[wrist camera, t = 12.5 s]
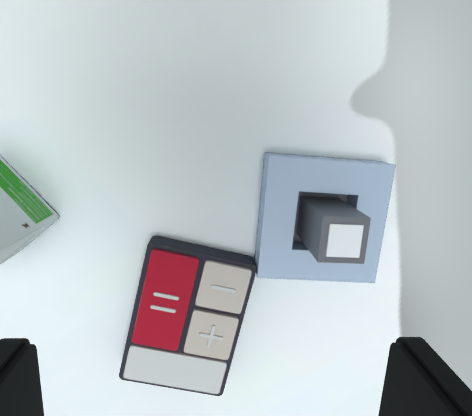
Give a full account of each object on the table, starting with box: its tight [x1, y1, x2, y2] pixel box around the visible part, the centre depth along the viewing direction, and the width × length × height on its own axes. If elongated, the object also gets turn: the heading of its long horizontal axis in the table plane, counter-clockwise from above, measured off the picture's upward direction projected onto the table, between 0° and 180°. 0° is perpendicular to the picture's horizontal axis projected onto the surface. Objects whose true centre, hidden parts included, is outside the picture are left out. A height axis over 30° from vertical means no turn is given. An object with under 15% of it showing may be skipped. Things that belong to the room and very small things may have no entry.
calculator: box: [119, 236, 257, 396], centre depth 39 cm, size 11×4×15 cm
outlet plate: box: [255, 153, 396, 283], centre depth 37 cm, size 12×12×3 cm
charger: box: [296, 196, 371, 264], centre depth 35 cm, size 4×4×8 cm
